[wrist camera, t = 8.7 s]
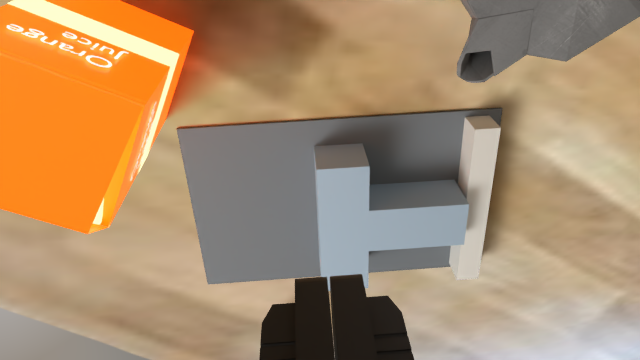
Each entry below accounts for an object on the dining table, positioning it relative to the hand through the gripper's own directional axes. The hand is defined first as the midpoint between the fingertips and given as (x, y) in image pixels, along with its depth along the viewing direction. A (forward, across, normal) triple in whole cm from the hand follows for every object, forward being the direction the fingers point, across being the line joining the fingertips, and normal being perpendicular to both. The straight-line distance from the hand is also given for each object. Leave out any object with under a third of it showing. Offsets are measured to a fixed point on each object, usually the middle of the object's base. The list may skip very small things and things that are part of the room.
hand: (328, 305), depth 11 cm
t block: (+28, -6, +16) cm, 33 cm away
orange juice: (+29, +13, +2) cm, 32 cm away
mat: (+29, -2, +16) cm, 33 cm away
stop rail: (+28, -13, +16) cm, 35 cm away
